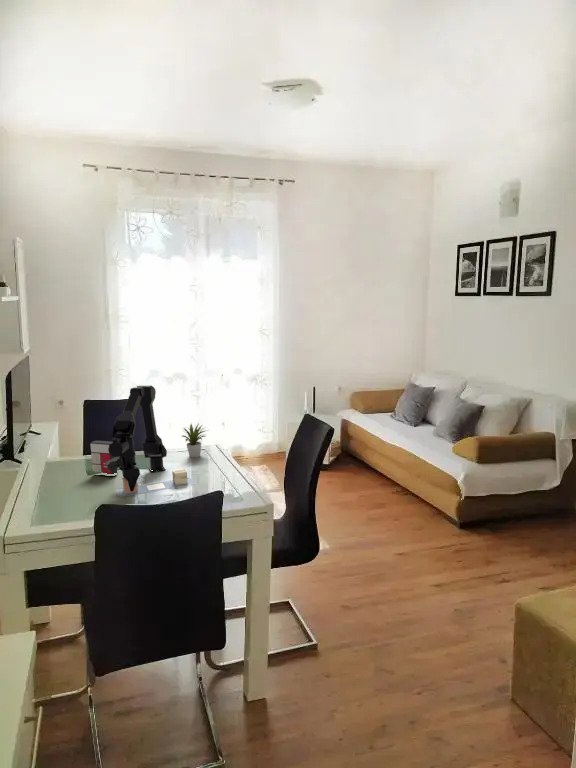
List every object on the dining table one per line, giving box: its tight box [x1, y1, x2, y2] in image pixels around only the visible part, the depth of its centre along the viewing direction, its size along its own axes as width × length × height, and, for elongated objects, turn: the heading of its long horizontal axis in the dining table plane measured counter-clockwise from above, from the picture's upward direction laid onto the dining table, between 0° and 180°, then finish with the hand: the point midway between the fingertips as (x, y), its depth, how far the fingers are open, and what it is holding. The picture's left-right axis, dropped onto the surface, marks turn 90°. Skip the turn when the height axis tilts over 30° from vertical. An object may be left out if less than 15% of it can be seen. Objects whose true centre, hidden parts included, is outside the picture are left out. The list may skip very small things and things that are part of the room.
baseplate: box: [116, 477, 196, 498], centre depth 236 cm, size 10×30×1 cm, turn 112°
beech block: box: [171, 468, 188, 485], centre depth 240 cm, size 5×5×5 cm
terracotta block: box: [121, 477, 138, 494], centre depth 232 cm, size 5×5×5 cm
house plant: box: [181, 423, 210, 458], centre depth 279 cm, size 14×14×16 cm
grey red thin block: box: [89, 440, 118, 474], centre depth 256 cm, size 11×4×15 cm, turn 68°
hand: (130, 487), depth 232 cm, fingers open, 9 cm apart
